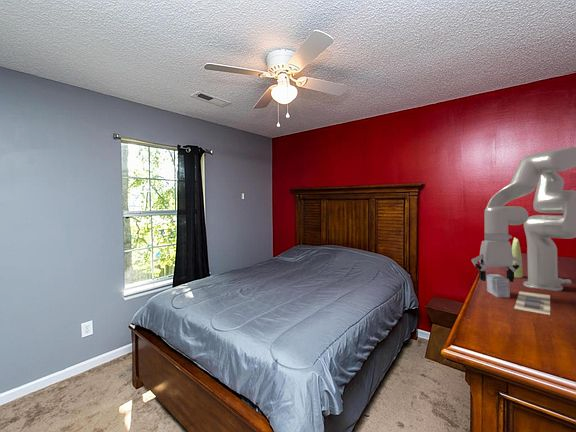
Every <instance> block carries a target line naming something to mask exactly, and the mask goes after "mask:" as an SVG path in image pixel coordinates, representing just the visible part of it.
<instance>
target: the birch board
mask: <svg viewBox="0 0 576 432" xmlns="http://www.w3.org/2000/svg"><path fill="white" fill-rule="evenodd" d="M526 296H527V297H534V298H541V303H540V309H535V308H529V307H524V303H525V299H526ZM513 309H514V310H518V311H525V312H530V313H531V312H532V313H535V314H536V313H537V314H542V315H549V316H551V295H550V294H544V293H536V292H528V291H522V290H520V291H518V295H517V297H516V301H515V305H514V307H513Z"/></svg>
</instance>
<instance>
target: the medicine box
mask: <svg viewBox="0 0 576 432" xmlns="http://www.w3.org/2000/svg"><path fill="white" fill-rule="evenodd" d="M486 292H488V293H490V294H491V295H493V296H494V297H495V298H510V297H511V294H510V281H509V279H507V277H505V276H503V275H501V274H497V273H496V274H493V273H491V274H489V273H488V274H486Z"/></svg>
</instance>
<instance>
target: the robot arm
mask: <svg viewBox="0 0 576 432" xmlns="http://www.w3.org/2000/svg"><path fill="white" fill-rule="evenodd" d="M573 168H576V146H568V147H563V148H556V149H555V148H554V149H551V150H550V149H549V150H544V151H540V152H537V153H534V154H530V155H526V156H524V157H523V158H521V160H520V161H519V162H518V164H517V167H516V170H515V172H514V173H513V177H512V178H511V181H510V182H509V183H508V184H507V185H506V186H504V187H503V188H501V189H500V190H499V191H497V192H496V193H495V194H494V195H493V196H492V197H491V198H490V199H489V201H488V203H487V205H486V207H485V209H484V216H483V217H484V240H482V241H481V242H480V243H481V244H480V250H479V255H477V256H476V257H474V258H472V259H471V262H472V264H473V266H474V267H475V269H477V270H478V278H479V280H480V281H483V282H487V273H486V271H485V270H486V269H487V268H488V267H489V268H490V267H492V268H493V267H495V268H500V267H501V268H506V269H507V270H506V278H507V279H509V283H510V282H511V283H513V282H514V280H515V277H514V272H515V271H516V269H518V268H519V265H520V264H521V263H522V264H523V260H522V261H521V260H519V259H517V258H515V257H513V254H512V244H511V241H509V240H510V239H512V238H513V236H512V234H511V235H510V234H509V225H510V226H520V225H522V224H523V229H524V233H525V236H526V237H525V239H526V245H527V247H526V250H527V251H526V254H527V280H526V281H523V286H524V287H526V288H530V289H540V290H545V291H556V292H561V291H563V289H564V286H562V285H563V284H564V285H565V284H566V285H571V284H572V280H571V279H564V278H561V277H558V248H557V245H556V243H555V242H554V240H553V239H566V240H567V239H569V240H570V239H575V238H576V190H574V189H572V190H571V189H570V190H568V189H567V190H566V189H565V190H564V186H565V181H564V179H563V177H562V176H561V175H560V174H559V173H558V172H564V171H567V170H570V169H573ZM535 189H536V190H535ZM534 191H535V193H534V198H533V203H532V204H533V205H532V206H533V207H532V208H533V210H534V211H536V212H538V213H542V214H534V215H531V216H529V211H527V209H525V208H524V207H522V206H520V205H519V206H518V205H517V206H515V205H514V206H513V205H509V206H508V205H506V204H508V203H510V202H511V201H513V200H516V199H519V198H521V197H524V196H527V195H529V194H531V193H533V192H534ZM505 205H506V206H505ZM555 214H556V215H555ZM557 214H558V215H557ZM561 214H562V215H561ZM513 261H515V264H514V265H513ZM512 265H513V266H512Z"/></svg>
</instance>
